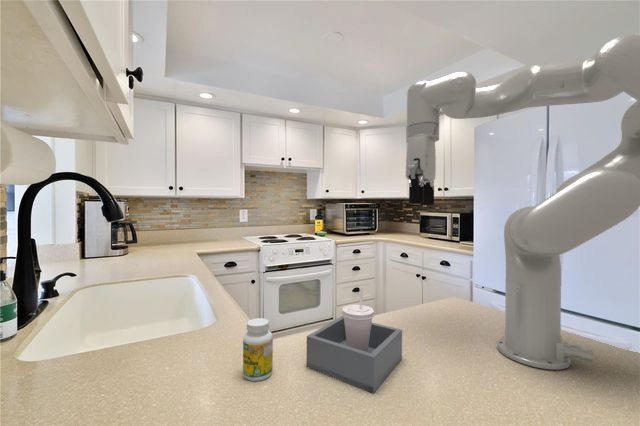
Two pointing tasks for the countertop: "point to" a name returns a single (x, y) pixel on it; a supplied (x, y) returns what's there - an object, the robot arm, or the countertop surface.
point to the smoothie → (358, 324)
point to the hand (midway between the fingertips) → (422, 204)
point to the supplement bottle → (257, 350)
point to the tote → (355, 354)
